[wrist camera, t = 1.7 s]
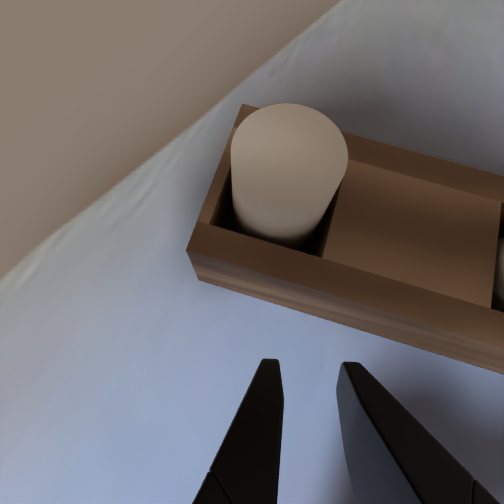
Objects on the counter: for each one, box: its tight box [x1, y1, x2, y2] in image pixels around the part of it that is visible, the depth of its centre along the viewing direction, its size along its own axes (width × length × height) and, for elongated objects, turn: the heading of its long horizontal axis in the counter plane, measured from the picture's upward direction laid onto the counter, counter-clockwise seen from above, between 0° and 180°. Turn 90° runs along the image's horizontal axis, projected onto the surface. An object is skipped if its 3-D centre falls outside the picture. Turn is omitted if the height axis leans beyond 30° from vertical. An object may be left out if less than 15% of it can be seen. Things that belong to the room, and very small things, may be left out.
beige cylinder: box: [231, 103, 348, 250], centre depth 19 cm, size 5×5×6 cm
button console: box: [186, 104, 504, 374], centre depth 22 cm, size 9×21×6 cm, turn 73°
